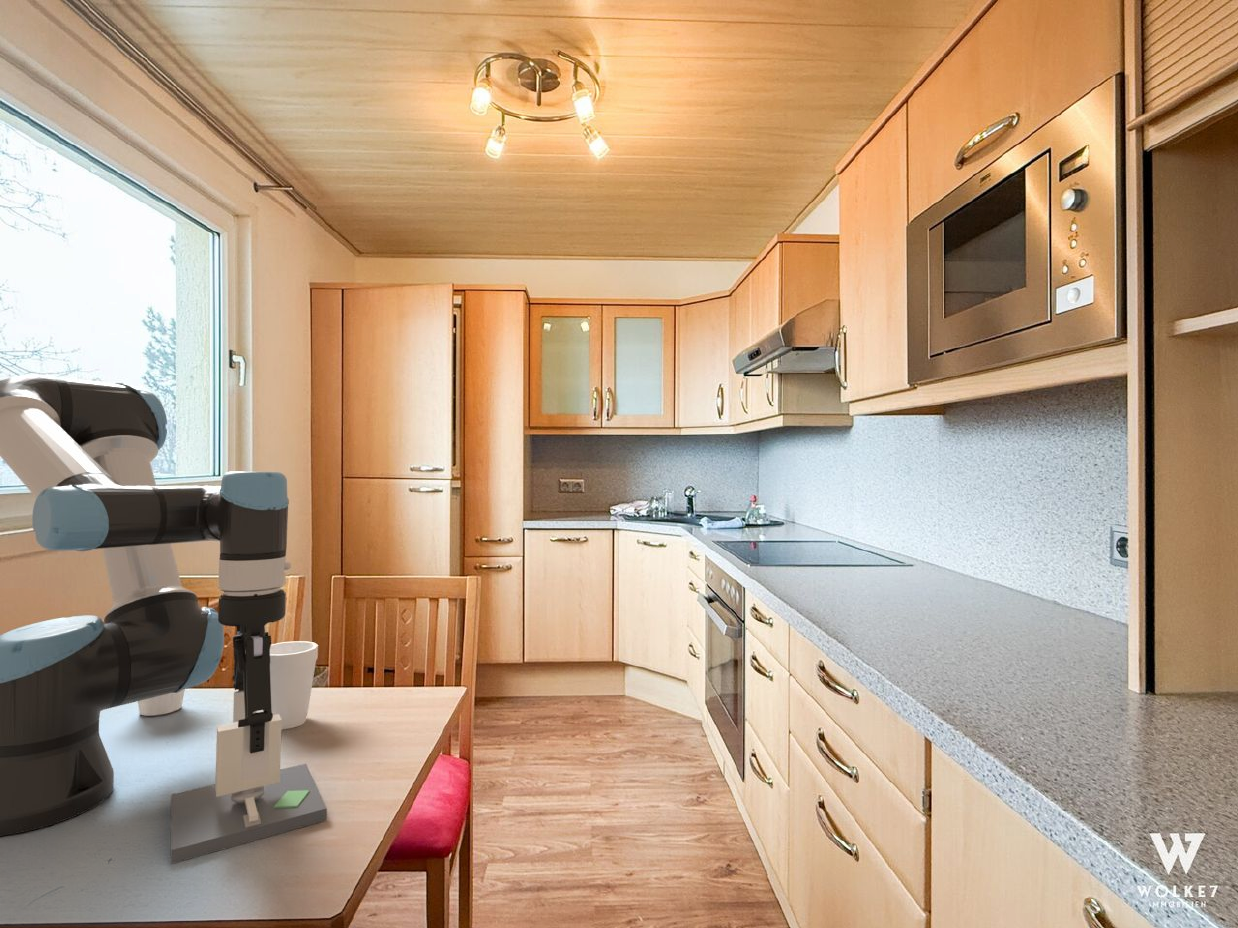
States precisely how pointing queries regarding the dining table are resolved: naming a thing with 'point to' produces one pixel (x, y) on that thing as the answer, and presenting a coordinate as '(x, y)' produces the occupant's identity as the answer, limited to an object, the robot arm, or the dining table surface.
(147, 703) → the cup
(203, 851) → the base
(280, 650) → the foam cup
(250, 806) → the cream angular block
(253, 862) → the dining table surface
